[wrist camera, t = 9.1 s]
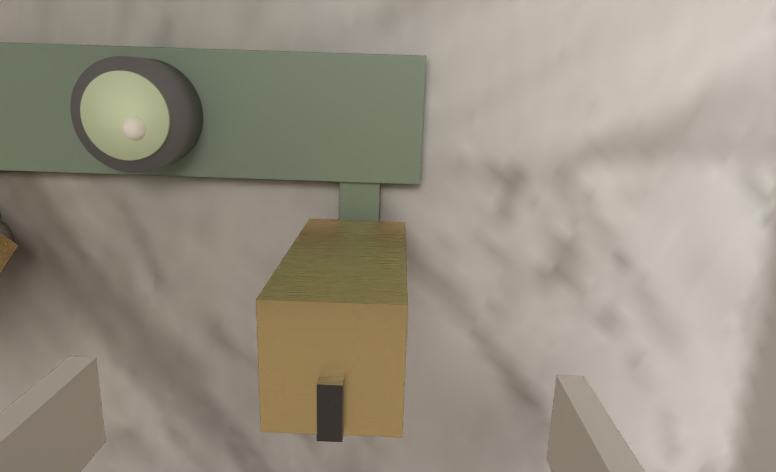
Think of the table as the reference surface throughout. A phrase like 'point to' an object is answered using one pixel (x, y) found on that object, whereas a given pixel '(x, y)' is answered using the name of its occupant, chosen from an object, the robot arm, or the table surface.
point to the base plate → (215, 115)
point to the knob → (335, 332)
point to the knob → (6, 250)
